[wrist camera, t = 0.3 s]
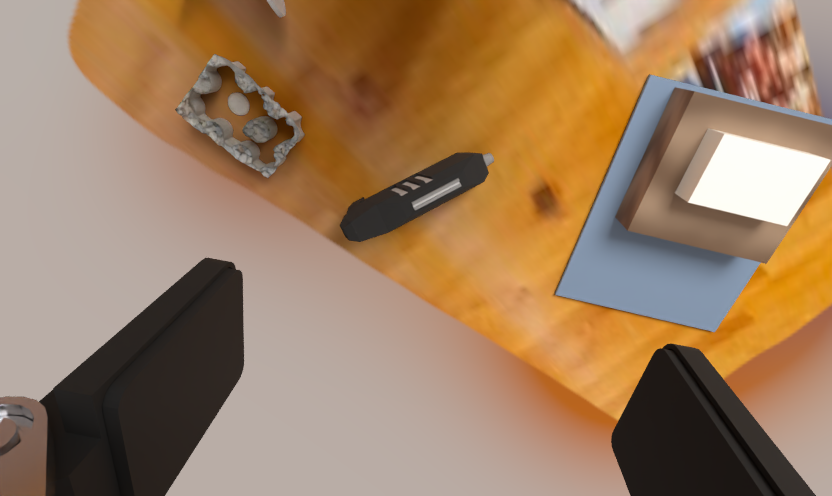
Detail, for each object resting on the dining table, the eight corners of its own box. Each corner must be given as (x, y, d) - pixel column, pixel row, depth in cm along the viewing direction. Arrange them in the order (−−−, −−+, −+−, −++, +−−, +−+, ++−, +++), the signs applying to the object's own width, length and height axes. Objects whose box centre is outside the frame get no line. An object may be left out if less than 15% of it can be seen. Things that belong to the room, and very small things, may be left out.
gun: (462, 165, 50) (509, 172, 41) (336, 230, 46) (358, 253, 37) (453, 142, 49) (500, 144, 40) (324, 207, 45) (343, 225, 36)
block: (674, 87, 39) (694, 91, 36) (822, 123, 39) (855, 130, 36) (614, 216, 45) (627, 230, 41) (743, 247, 45) (766, 263, 42)
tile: (708, 128, 37) (724, 133, 35) (808, 152, 37) (831, 159, 35) (674, 193, 39) (687, 202, 37) (768, 215, 40) (787, 226, 37)
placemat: (648, 74, 39) (650, 74, 39) (848, 123, 39) (851, 124, 39) (554, 293, 50) (555, 294, 49) (712, 330, 50) (714, 332, 50)
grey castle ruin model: (192, 102, 44) (167, 107, 40) (232, 45, 41) (210, 45, 37) (273, 176, 47) (257, 188, 43) (317, 127, 44) (304, 135, 40)
